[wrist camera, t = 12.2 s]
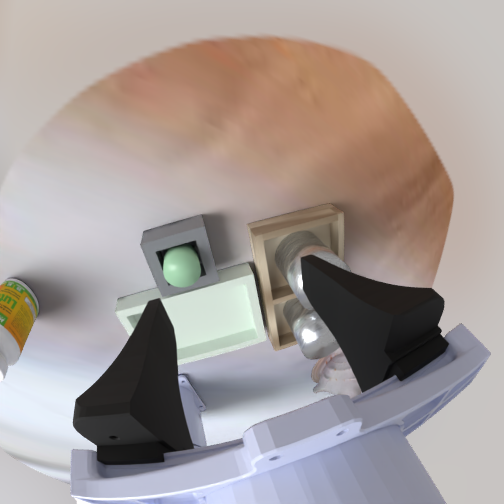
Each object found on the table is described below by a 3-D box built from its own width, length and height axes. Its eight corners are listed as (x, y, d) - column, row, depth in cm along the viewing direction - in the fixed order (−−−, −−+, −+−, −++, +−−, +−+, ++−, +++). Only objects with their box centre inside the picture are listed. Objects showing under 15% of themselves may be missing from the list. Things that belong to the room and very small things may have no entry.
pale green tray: (261, 327, 29) (266, 340, 28) (152, 357, 28) (153, 370, 26) (247, 262, 25) (253, 273, 23) (117, 298, 23) (115, 312, 21)
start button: (202, 268, 22) (205, 281, 20) (170, 277, 22) (170, 291, 20) (193, 238, 21) (195, 250, 19) (159, 248, 20) (158, 261, 19)
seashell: (299, 386, 38) (322, 434, 31) (312, 334, 33) (346, 391, 25) (353, 369, 41) (379, 409, 33) (374, 317, 35) (411, 362, 27)
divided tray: (330, 314, 32) (340, 327, 29) (268, 336, 30) (275, 351, 28) (329, 203, 24) (343, 212, 22) (246, 224, 23) (254, 236, 21)
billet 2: (322, 314, 30) (345, 348, 25) (284, 327, 29) (303, 365, 24) (322, 283, 27) (349, 317, 23) (280, 296, 27) (302, 336, 22)
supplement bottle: (31, 276, 19) (-10, 347, 11) (46, 319, 22) (20, 391, 14) (-5, 276, 18) (-46, 339, 10) (11, 317, 20) (-18, 381, 12)
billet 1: (321, 267, 26) (350, 299, 22) (277, 280, 26) (300, 318, 21) (319, 225, 24) (352, 253, 19) (271, 238, 23) (297, 271, 19)
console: (215, 265, 24) (219, 281, 22) (162, 280, 24) (162, 297, 21) (201, 214, 22) (204, 226, 20) (143, 231, 21) (140, 244, 19)
